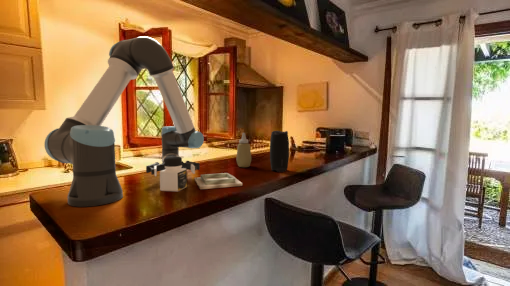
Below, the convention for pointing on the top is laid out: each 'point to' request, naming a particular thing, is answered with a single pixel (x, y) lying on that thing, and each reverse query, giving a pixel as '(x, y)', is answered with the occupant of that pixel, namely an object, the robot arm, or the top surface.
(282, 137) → the portable speaker
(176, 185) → the medicine bottle
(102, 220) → the top surface
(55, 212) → the top surface
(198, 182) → the collar tray
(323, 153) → the top surface
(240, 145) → the squeeze bottle
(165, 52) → the robot arm
